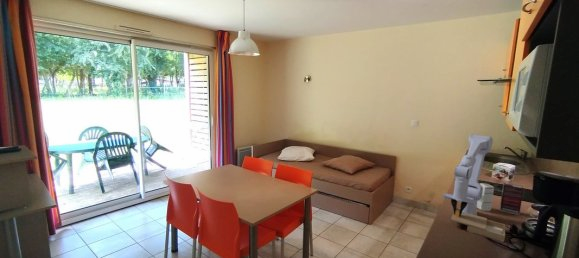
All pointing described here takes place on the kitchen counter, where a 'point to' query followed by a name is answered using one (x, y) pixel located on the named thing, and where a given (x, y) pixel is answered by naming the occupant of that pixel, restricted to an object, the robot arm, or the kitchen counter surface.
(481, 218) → the lid panel
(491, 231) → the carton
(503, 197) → the supplement box
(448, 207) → the kitchen counter surface
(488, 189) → the syrup box
